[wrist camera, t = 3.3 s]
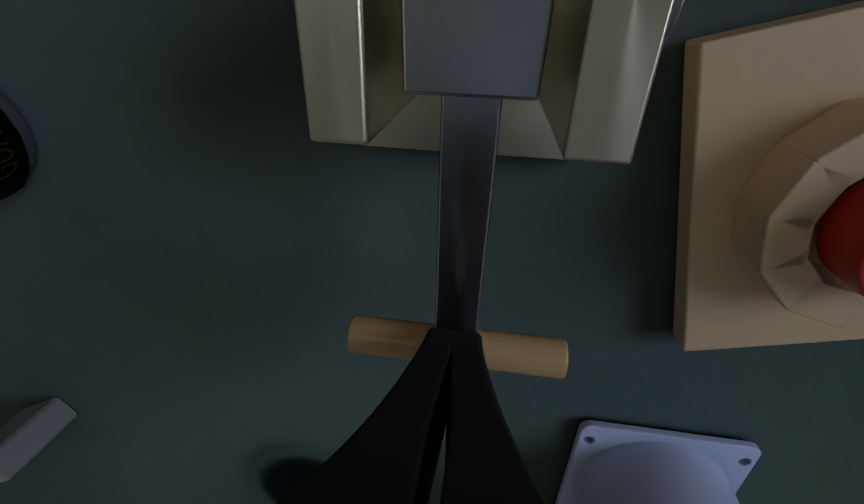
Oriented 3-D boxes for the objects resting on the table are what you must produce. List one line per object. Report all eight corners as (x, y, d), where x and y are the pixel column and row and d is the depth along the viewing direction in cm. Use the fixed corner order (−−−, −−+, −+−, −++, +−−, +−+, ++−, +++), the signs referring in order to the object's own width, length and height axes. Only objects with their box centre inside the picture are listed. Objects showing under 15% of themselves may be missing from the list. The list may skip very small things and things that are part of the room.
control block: (946, 310, 15) (1037, 371, 13) (672, 332, 17) (702, 388, 15) (1092, -52, 10) (1292, -74, 8) (683, 40, 12) (731, 47, 10)
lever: (556, 340, 13) (565, 409, 11) (364, 318, 13) (340, 378, 12) (678, -111, 7) (746, -136, 5) (319, -112, 7) (253, -135, 6)
